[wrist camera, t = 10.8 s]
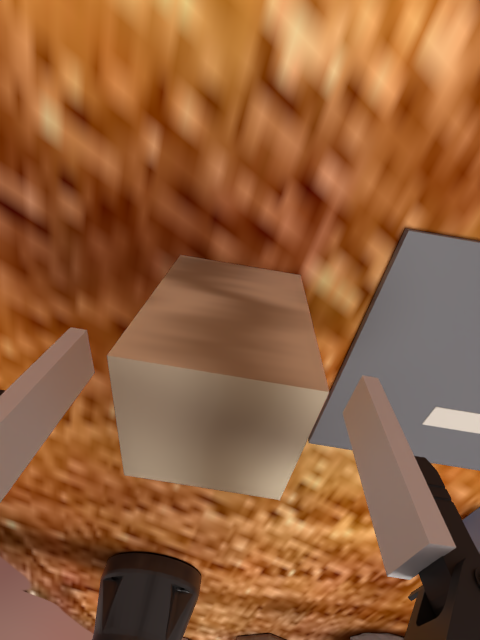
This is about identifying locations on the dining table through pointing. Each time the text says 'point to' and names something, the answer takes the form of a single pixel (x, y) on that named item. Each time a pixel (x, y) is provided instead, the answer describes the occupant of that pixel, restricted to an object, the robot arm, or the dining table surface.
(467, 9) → the dining table surface
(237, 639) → the wooden block
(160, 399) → the maple block
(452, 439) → the board
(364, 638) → the ceramic pitcher
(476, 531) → the blue cube
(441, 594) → the robot arm
